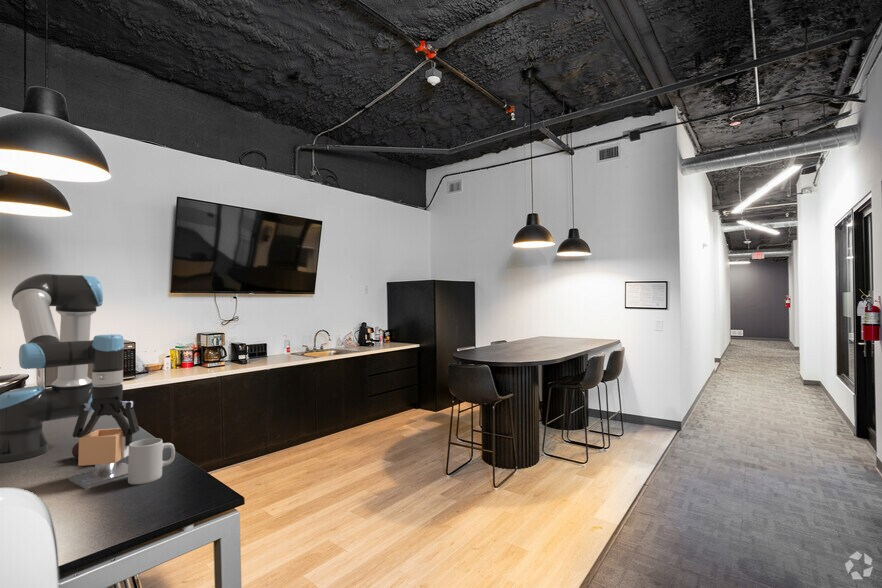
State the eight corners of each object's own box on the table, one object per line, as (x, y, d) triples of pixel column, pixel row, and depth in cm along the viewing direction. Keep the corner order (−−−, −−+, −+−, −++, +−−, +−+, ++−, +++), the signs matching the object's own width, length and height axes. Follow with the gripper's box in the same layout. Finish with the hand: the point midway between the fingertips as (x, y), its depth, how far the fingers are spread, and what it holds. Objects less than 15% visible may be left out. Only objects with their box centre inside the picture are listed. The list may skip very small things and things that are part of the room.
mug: (131, 487, 121) (132, 448, 122) (124, 479, 127) (125, 442, 127) (178, 475, 130) (179, 439, 130) (170, 468, 136) (171, 433, 136)
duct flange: (68, 480, 126) (69, 443, 127) (123, 465, 138) (123, 431, 139) (85, 489, 120) (86, 450, 121) (140, 472, 132) (141, 437, 133)
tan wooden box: (78, 465, 124) (78, 438, 124) (97, 455, 133) (97, 429, 133) (115, 462, 126) (115, 435, 126) (131, 452, 135) (131, 427, 135)
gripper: (57, 388, 124) (55, 465, 123) (142, 385, 129) (140, 459, 128) (74, 384, 132) (72, 456, 131) (153, 381, 136) (152, 451, 135)
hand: (106, 458), depth 129 cm, fingers closed on tan wooden box, 9 cm apart
